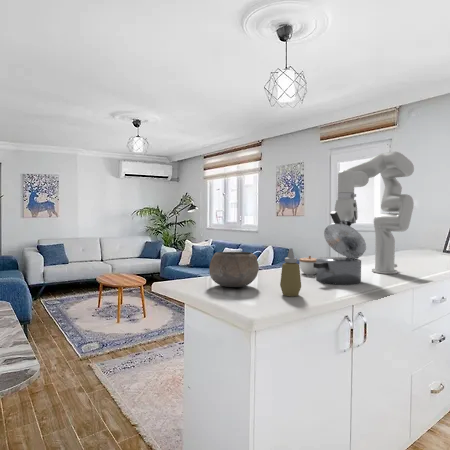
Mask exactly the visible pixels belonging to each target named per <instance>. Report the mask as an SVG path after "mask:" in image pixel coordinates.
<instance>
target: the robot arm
mask: <svg viewBox="0 0 450 450" xmlns="http://www.w3.org/2000/svg"><path fill="white" fill-rule="evenodd" d="M414 171H415V165H414V164H413V162H412V161H411V160H410V159H409V158H408V157H407V156H405V154H403V153H401V152H400V151H389V152H382V153H379V154H377V155H375V156H374V157H372V158H371V159H369V160H367V161H366V162H363V163H360V164H358V165H355V166H352V167H350V168H348V169H346V170H340V171H338V173H337V196H336V197H337V198H336V200H335V205H334V211H336V212H337V214H338V216H339V218H340V221H341V222H340V223H342V224H346V225H348V226H350V227H351V226H352V225H353V224H356V223H357V222H356V221H357V220H358V217H359V216H358V215H359V214H358V204H357V200H356V199H355V198H356V197H357V194H356V193H355V188H362V187H365V186H367V184H368V183H369V180H370V179H372V178H374V177H377V176H378V175H380V176H381V178H382V180H383V183H384V190H383V195H382V198H381V204H380V209H381V211H383V212H384V213H383V212H382V213H378V214H376V215H375V216H374V218H373V227H374V235H375V237H374V238H375V239H374V240H375V241H374V243H375V246H374V248H375V249H374V250H375V251H374V253H375V254H374V268H372V269H371V272H372V273H374V274H386V275H393V274H395V275H396V274H398V270H397V269H395V268H397V267H398V264H397V263H395V256H396V255H395V251H396V250H395V244H396V240H395V237H394V235H393V233H392V232H399V233H400V232H401V233H402V232H406V231H407V230H408V229H409V227H410V224H411V219H412V215H413V210H414V204H415V203H414V199H413V197H412V195H410V194H407V193H406V194H402V190H403V187H402V185H401V183H400V182H399V180H398V178H406V177H411V176H412V175H413V174H414Z"/></svg>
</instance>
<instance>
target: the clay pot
mask: <svg viewBox="0 0 450 450" xmlns="http://www.w3.org/2000/svg"><path fill="white" fill-rule="evenodd" d="M259 266H260V265H259V262H258V257H257V255H256V254H254V253H253V252H249V251H248V252H247V251H216V252H215V253H214V254H213V256H212V258H211V260H210V262H209V267H208V269H209V271H208V272H209V276H210V279H211V280H212V281H213V282H214V283H215V284H217V285H219V286H221V287H222V286H223V287H227V288H243V287H246V286H249V285H250V284H251V283H253V281H255V279H256V278H257V276H258V275H259V268H260V267H259Z"/></svg>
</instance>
